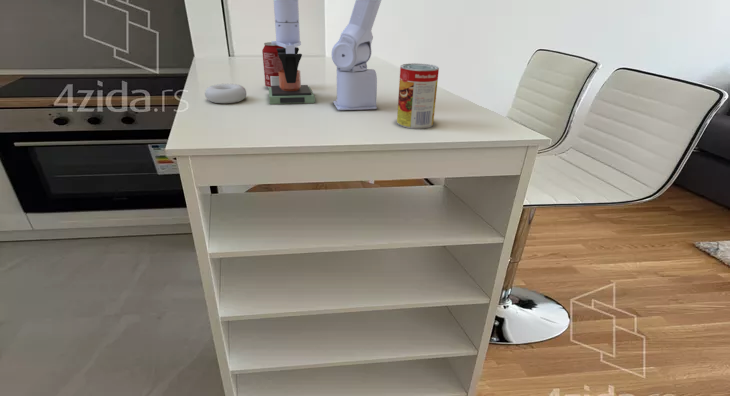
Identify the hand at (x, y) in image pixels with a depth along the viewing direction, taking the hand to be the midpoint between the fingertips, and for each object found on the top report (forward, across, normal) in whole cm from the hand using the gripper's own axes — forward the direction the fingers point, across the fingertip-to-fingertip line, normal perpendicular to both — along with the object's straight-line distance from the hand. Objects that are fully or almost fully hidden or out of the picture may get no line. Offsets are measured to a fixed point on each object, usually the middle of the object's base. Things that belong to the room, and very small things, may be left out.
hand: (290, 79), depth 108 cm
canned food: (+5, +26, +25) cm, 36 cm away
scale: (+5, 0, 0) cm, 5 cm away
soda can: (+5, -13, -3) cm, 14 cm away
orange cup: (+2, 0, 0) cm, 2 cm away
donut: (+5, 0, -16) cm, 17 cm away
